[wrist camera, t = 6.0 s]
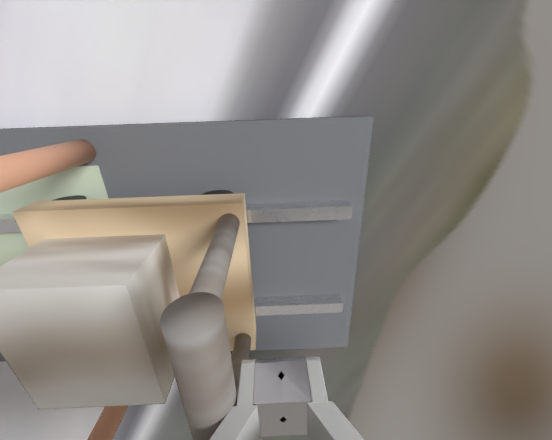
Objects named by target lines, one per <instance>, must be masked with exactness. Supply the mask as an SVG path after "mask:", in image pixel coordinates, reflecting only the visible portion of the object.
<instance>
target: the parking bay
mask: <svg viewBox="0 0 552 440" xmlns="http://www.w3.org/2000/svg"><path fill="white" fill-rule="evenodd" d="M95 157H96V150H95V148H94V146H93V145H92V144H91V143H90V142H88V141H86V140H83V139H80V140H75V141H70V142H65V143H60V144H55V145H50V146H46V147H41V148H36V149H31V150H26V151H22V152H17V153H12V154H7V155H2V156H0V214H9V213H12V212H13V211H15V210H18V209H20V208H22V207H25V206H27V205H29V204H32V203H34V202H36V201H51V200H54V199H58V198H62V197H67V196H75V195H82V196H86V199H106V198H108V195H107V191H106V188H105V185H104V182H103V179H102V175H101V172H100V169H99V166H98V165H94V166H79V165H82V164H85V163H88V162H91V161H93V160H94V159H95ZM28 249H30V248H29V246H28V244H27V242H26V240H25V238H24V236H23V234H22V232H5V233H0V267H1V266H2V265H4V264H5V263H7V262H9V261H10V260H12V259H14V258H15V257H17V256H18V255H20V254H22V253H23V252H25V251H26V250H28ZM127 407H128V405H124V406H105V408H104V410H103V412H102V413H101V415H100V417H99V419H98V421H97V423H96V425H95V427H94V428H93V430H92V432H91V434H90V436H89V438H88V440H112V439H113V437H114V435H115V433H116V431H117V428H118V426H119V424H120V422H121V420H122V418H123V416H124V413H125V411H126V409H127Z"/></svg>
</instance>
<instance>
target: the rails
mask: <svg viewBox="0 0 552 440" xmlns="http://www.w3.org/2000/svg"><path fill="white" fill-rule="evenodd" d="M246 215H247V223H265V222H291V221H317V220H343V219H351V215H352V205H351V204H350V203H349V201H348V200H336V201H310V202H283V203H257V204H246ZM5 232H21V230H20V228H19V226H18V224H17V222H16V220H15V217H14V215H13V213H9V214H0V233H5ZM254 308H255V316H264V315H288V314H313V313H337V312H342V310H343V301H342V299H341V296H340V293H334V294H309V295H284V296H260V297H254Z"/></svg>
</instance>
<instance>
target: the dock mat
mask: <svg viewBox="0 0 552 440" xmlns="http://www.w3.org/2000/svg"><path fill="white" fill-rule="evenodd" d="M373 118H374V117H372V116H347V117H319V118H291V119H263V120H235V121H207V122H179V123H151V124H123V125H95V126H67V127H39V128H11V129H0V156H2V155H7V154H12V153H17V152H22V151H26V150H31V149H36V148H41V147H46V146H50V145H55V144H60V143H65V142H70V141H75V140H80V139H83V140H86V141H88V142H90V143H91V144H92V145H93V146H94V148H95V150H96V157H95V159H94V160H93V161H91V162H88V163H85V164H82V165H79V166H94V165H98V166H99V169H100V172H101V175H102V179H103V182H104V185H105V188H106V191H107V195H108V198H133V197H159V196H186V195H201V194H203V193H205V192H209V191H214V190H228V191H231V192H233V193H234V194H239V193H245V203H246V204H257V203H283V202H310V201H336V200H348V201H349V203H350V204H351V205H352V215H351V219H343V220H317V221H291V222H265V223H247V227H248V238H249V250H250V262H251V273H252V285H253V297H260V296H284V295H309V294H334V293H340V296H341V299H342V301H343V310H342V312H337V313H313V314H288V315H264V316H255V320H256V348H255V350H250V351H262V350H286V349H310V348H334V347H348V338H349V329H350V321H351V312H352V303H353V294H354V285H355V277H356V268H357V259H358V250H359V241H360V232H361V224H362V215H363V206H364V197H365V188H366V179H367V171H368V162H369V153H370V144H371V135H372V127H373ZM230 352H233V351H230ZM0 361H6V360H5V358H4V357H3V355H2V354H1V352H0Z"/></svg>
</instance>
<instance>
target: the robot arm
mask: <svg viewBox="0 0 552 440" xmlns="http://www.w3.org/2000/svg"><path fill="white" fill-rule="evenodd" d="M279 435H307V437H308V439H309V440H364V439H363V438H362V437H361V436H360V434H359V433H358V432H357V431H356V429H355V428H354V427H353V426H352V425H351V423H350V422H349V421H348V420H347V418H346V417H345V416H344V415H343V414H342V412H341V411H340V410H339V409H338V408H337V406H336V405H335V404H334V403H333V401H328V398H327V393H326V387H325V382H324V377H323V372H322V367H321V362H320V358H319V357H318V356H316V357H294V358H279V359H257V360H256V359H255V360H242V363H241V369H240V378H239V388H238V397H237V406H233V407H232V408H231V410H230V411H229V412H228V413H227V415H226V416H225V418H224V419H223V421H222V422H221V424H220V425H219V426H218V428H217V429H216V431H215V432H214V434H213V435H212V437H211V438H210V440H261V437H267V436H279Z"/></svg>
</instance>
